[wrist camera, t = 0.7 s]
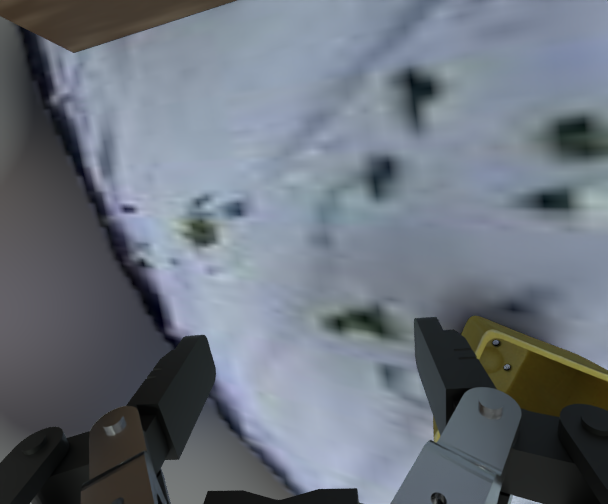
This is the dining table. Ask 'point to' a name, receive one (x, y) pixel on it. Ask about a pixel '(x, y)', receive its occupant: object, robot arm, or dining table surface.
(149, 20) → the stand
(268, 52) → the dining table surface
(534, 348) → the flower pot
